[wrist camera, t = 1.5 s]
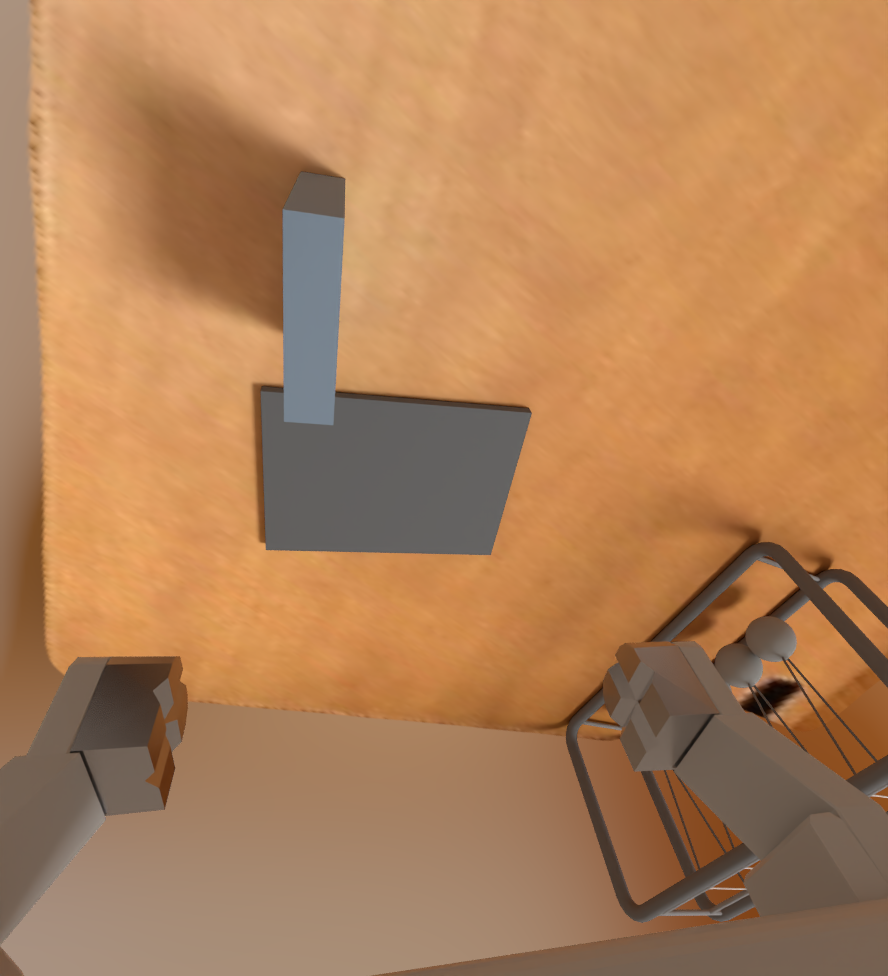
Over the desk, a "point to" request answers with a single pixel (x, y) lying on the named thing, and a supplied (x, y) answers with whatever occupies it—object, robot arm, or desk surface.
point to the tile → (312, 296)
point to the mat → (389, 475)
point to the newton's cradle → (745, 670)
